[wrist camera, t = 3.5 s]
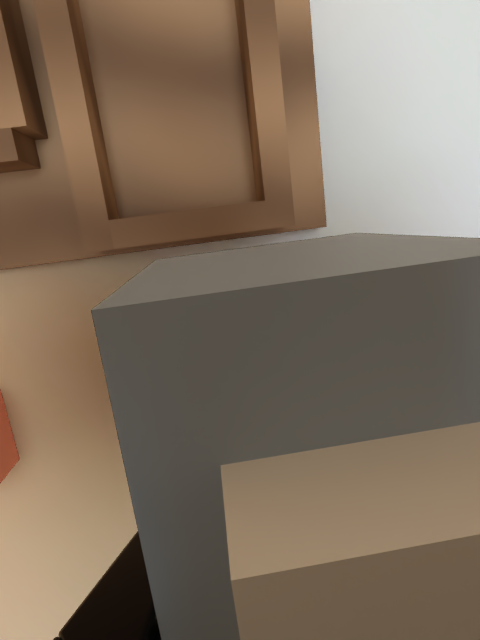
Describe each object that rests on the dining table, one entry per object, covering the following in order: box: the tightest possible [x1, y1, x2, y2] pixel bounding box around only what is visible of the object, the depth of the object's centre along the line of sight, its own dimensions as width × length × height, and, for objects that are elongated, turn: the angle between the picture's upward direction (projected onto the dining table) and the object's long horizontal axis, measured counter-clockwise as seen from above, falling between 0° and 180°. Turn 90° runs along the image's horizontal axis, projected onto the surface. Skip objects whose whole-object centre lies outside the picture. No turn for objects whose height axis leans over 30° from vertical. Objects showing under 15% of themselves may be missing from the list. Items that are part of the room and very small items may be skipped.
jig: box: [0, 0, 327, 269], centre depth 14 cm, size 14×20×3 cm
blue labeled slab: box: [91, 233, 480, 640], centre depth 6 cm, size 10×4×6 cm, turn 7°
